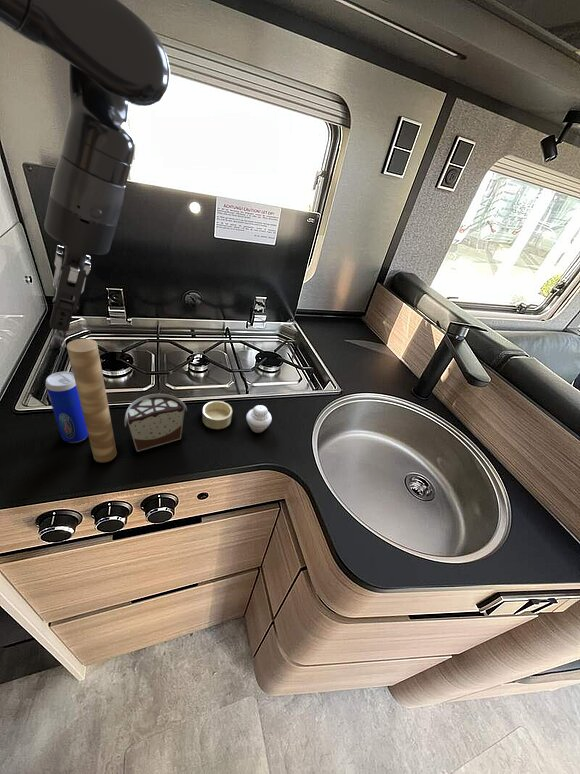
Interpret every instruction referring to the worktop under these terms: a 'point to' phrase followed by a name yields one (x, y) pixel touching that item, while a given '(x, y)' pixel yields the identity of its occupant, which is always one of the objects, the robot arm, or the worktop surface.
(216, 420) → the socket
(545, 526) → the worktop surface
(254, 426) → the white lidded jar
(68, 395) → the beverage can
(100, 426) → the post
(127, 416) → the iced muffin
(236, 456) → the worktop surface
